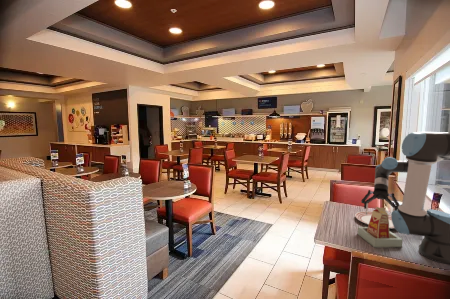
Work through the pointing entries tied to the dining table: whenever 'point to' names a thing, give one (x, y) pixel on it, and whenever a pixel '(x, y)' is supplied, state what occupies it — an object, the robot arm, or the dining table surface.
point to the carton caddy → (380, 239)
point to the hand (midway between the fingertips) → (379, 215)
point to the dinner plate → (366, 218)
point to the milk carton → (379, 224)
